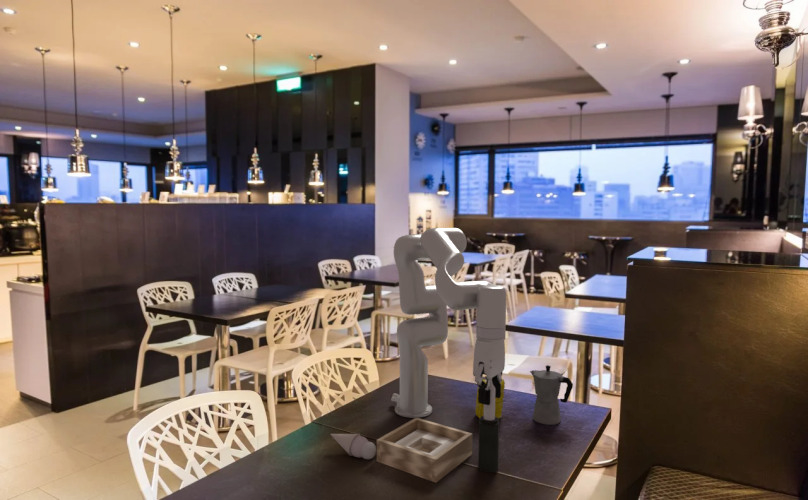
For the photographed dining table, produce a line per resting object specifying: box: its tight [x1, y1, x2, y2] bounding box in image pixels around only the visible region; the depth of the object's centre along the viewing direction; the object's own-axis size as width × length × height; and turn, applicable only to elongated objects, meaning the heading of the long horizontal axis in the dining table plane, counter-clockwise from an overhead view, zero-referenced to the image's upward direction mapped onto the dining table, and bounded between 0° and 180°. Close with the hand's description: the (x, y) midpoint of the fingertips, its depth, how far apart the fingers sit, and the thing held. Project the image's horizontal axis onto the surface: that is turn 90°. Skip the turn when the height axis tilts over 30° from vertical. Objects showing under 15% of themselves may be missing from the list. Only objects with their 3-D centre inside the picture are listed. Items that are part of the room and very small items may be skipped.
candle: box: [477, 379, 500, 473], centre depth 139 cm, size 5×5×25 cm
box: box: [376, 417, 473, 483], centre depth 145 cm, size 19×19×6 cm
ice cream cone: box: [330, 433, 377, 460], centre depth 147 cm, size 6×6×15 cm
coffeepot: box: [529, 364, 574, 426], centre depth 171 cm, size 15×9×18 cm, turn 43°
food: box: [474, 375, 506, 419], centre depth 174 cm, size 14×11×9 cm
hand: (489, 399), depth 139 cm, fingers open, 5 cm apart
